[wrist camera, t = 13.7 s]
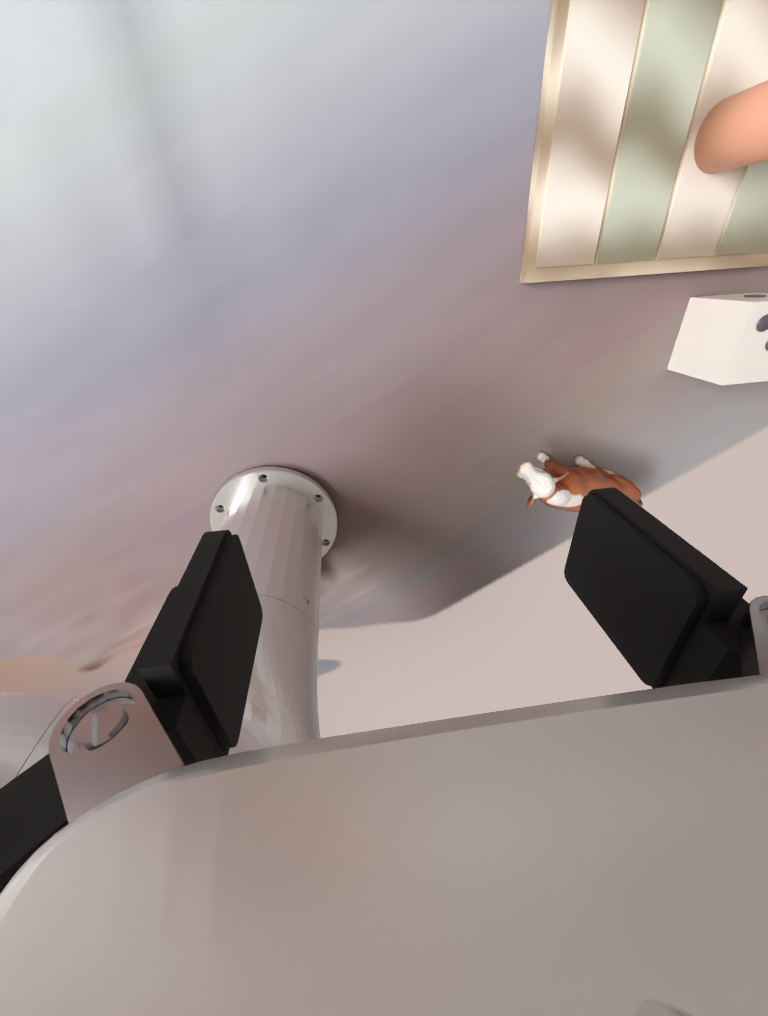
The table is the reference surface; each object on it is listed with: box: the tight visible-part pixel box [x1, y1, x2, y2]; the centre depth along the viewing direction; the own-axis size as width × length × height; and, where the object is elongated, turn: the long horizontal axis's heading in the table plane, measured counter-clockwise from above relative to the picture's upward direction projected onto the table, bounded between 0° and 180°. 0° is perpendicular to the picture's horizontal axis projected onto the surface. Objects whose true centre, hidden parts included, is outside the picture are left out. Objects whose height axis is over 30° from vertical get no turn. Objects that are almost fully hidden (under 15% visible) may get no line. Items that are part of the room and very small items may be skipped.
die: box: [667, 292, 768, 385], centre depth 32 cm, size 6×6×6 cm
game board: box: [520, 0, 768, 283], centre depth 27 cm, size 16×21×1 cm
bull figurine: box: [515, 451, 642, 512], centre depth 37 cm, size 4×13×8 cm, turn 73°
